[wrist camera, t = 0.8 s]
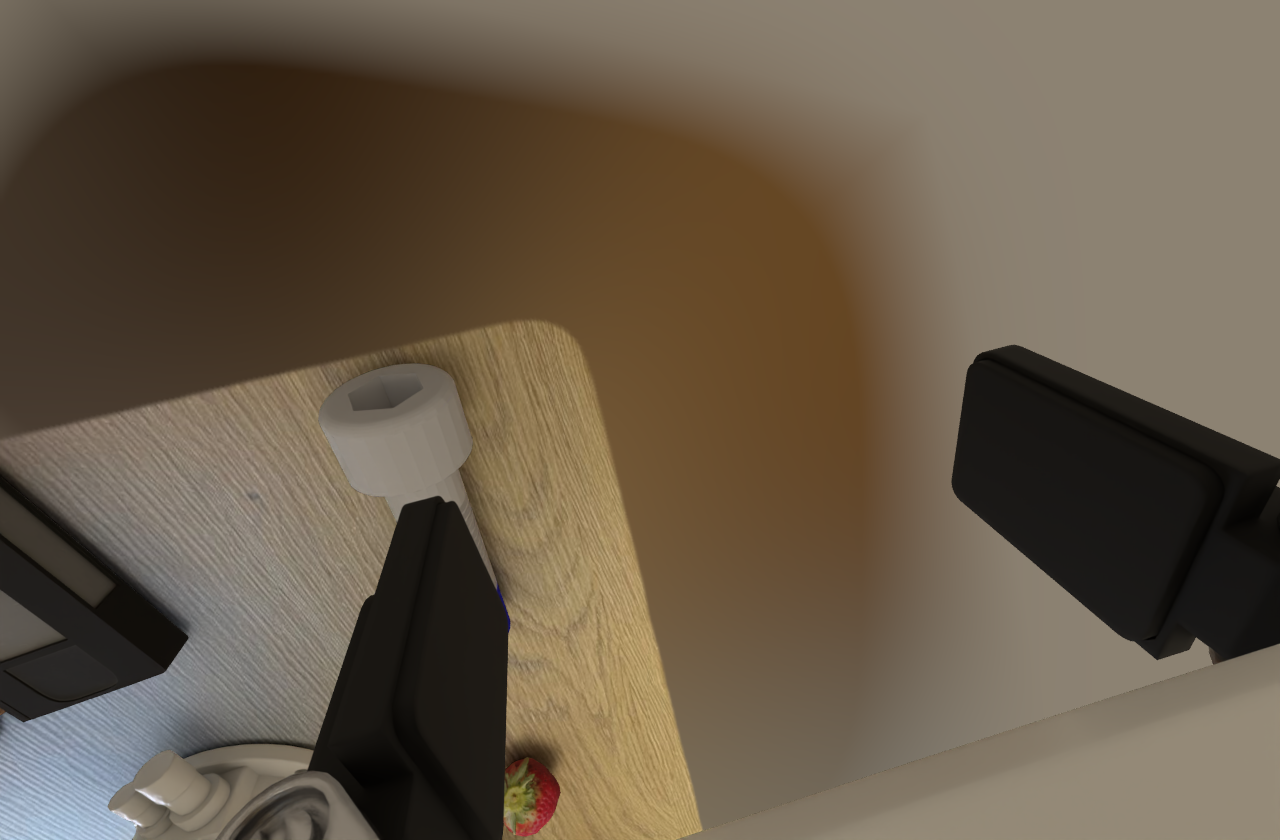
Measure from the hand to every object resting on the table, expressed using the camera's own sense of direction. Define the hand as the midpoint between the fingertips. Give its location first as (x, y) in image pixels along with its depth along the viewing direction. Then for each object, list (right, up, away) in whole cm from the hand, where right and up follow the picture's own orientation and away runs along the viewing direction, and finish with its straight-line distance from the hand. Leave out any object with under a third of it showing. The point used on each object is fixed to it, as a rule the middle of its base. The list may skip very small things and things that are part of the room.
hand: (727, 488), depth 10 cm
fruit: (-10, -23, +29) cm, 39 cm away
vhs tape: (-30, -5, +14) cm, 34 cm away
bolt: (-11, -2, +17) cm, 21 cm away
